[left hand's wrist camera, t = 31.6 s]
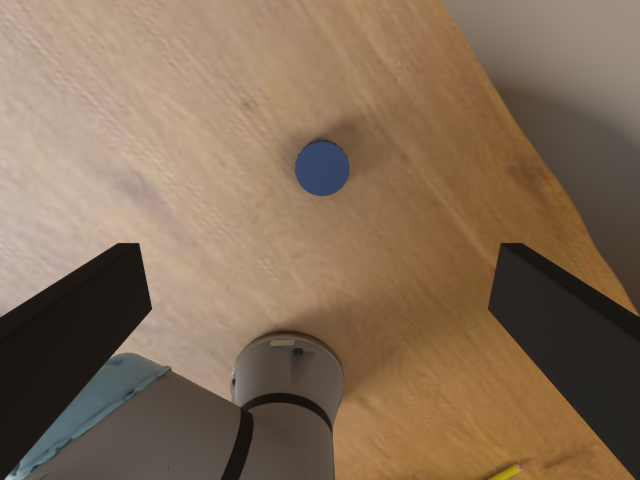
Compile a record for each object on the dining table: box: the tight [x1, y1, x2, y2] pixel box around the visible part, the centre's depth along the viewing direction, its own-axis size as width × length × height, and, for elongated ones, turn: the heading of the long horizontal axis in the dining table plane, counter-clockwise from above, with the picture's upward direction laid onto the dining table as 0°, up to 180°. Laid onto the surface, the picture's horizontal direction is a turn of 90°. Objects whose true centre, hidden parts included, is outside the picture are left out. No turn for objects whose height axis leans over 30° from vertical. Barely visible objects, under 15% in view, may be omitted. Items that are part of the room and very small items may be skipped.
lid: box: [295, 140, 349, 196], centre depth 36 cm, size 6×6×2 cm
